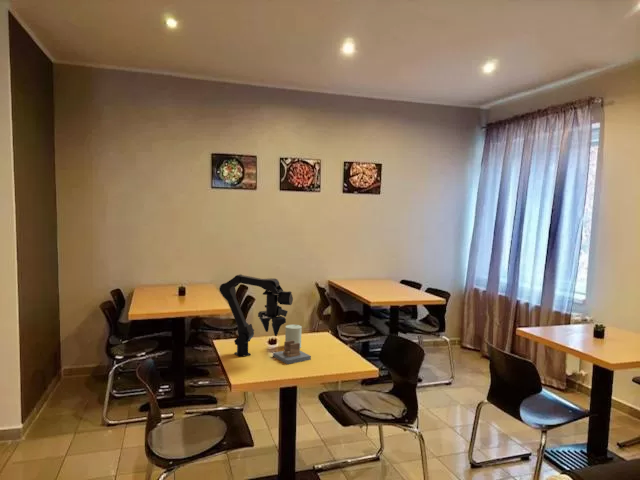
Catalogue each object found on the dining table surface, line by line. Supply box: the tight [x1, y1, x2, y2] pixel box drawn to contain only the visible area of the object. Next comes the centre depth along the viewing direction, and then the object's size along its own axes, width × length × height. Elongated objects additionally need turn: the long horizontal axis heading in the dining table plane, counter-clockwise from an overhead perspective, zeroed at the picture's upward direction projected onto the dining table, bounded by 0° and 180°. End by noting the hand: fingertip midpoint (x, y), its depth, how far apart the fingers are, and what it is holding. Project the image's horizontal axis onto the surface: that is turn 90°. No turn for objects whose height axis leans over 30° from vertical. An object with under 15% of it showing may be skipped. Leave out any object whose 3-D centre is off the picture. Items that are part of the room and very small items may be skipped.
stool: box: [282, 340, 301, 357], centre depth 233 cm, size 7×6×6 cm
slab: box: [272, 350, 312, 365], centre depth 233 cm, size 14×14×2 cm
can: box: [284, 324, 303, 349], centre depth 252 cm, size 9×9×12 cm
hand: (271, 333), depth 232 cm, fingers open, 9 cm apart
